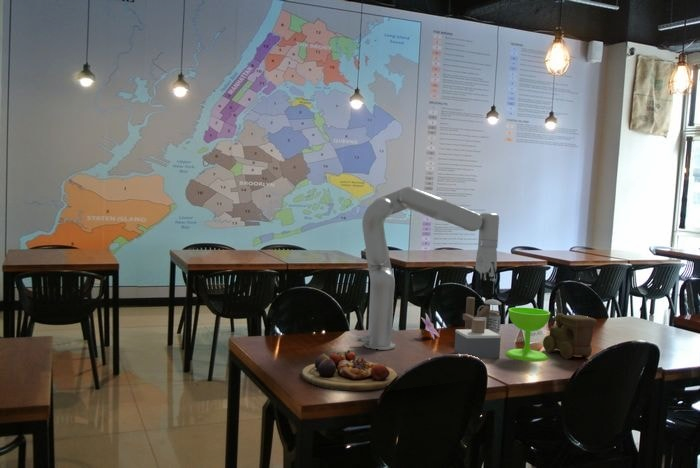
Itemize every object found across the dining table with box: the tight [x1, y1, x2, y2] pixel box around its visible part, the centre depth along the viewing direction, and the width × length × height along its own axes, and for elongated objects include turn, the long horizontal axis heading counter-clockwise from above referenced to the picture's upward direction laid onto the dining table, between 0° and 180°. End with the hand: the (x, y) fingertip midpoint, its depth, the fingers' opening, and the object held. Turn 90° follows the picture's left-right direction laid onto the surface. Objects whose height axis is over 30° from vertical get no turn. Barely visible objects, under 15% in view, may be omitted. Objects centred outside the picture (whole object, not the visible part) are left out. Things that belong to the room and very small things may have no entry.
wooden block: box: [464, 296, 491, 329], centre depth 279 cm, size 4×11×18 cm, turn 110°
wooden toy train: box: [542, 312, 598, 360], centre depth 254 cm, size 20×11×17 cm, turn 21°
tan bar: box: [462, 313, 475, 324], centre depth 264 cm, size 2×16×2 cm, turn 14°
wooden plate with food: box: [301, 350, 398, 392], centre depth 210 cm, size 32×32×8 cm
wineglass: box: [505, 306, 551, 363], centre depth 249 cm, size 16×16×18 cm
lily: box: [419, 313, 440, 340], centre depth 276 cm, size 12×12×10 cm
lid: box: [455, 319, 502, 338], centre depth 247 cm, size 14×11×7 cm
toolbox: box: [454, 316, 501, 360], centre depth 249 cm, size 14×14×13 cm
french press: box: [476, 278, 502, 335], centre depth 292 cm, size 10×12×25 cm
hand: (485, 289), depth 253 cm, fingers closed
